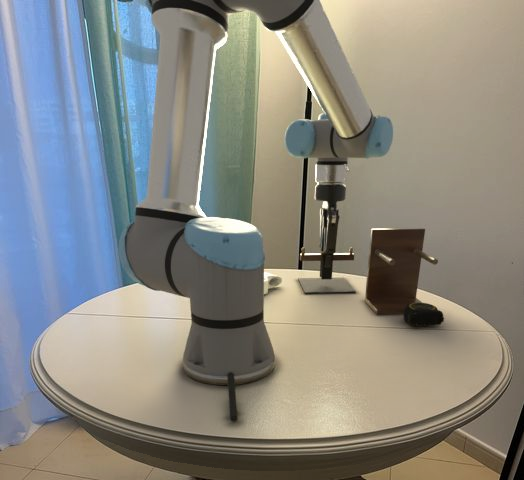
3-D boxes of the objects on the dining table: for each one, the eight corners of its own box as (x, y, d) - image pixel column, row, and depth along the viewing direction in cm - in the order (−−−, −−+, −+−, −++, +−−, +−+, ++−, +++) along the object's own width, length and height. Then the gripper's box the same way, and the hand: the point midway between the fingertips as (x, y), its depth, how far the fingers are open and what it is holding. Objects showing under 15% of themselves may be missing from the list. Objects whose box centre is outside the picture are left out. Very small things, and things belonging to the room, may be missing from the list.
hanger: (353, 260, 118) (354, 247, 117) (300, 261, 118) (301, 248, 116) (352, 259, 120) (353, 246, 118) (299, 259, 119) (300, 247, 118)
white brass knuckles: (289, 288, 119) (244, 299, 111) (249, 275, 132) (206, 283, 124) (290, 276, 118) (244, 285, 109) (248, 264, 131) (205, 271, 122)
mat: (355, 292, 115) (355, 291, 115) (304, 293, 115) (305, 292, 115) (343, 278, 128) (343, 277, 128) (298, 279, 128) (298, 278, 127)
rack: (433, 316, 98) (446, 237, 92) (379, 317, 98) (387, 238, 91) (413, 300, 110) (423, 228, 103) (364, 301, 109) (371, 228, 102)
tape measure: (409, 330, 91) (411, 312, 90) (398, 318, 97) (400, 301, 96) (442, 329, 91) (445, 311, 90) (429, 317, 98) (431, 301, 96)
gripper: (352, 185, 105) (345, 284, 114) (339, 182, 118) (334, 271, 127) (320, 185, 104) (316, 285, 114) (311, 182, 118) (307, 271, 127)
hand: (325, 277), depth 120 cm, fingers closed on hanger, 2 cm apart
